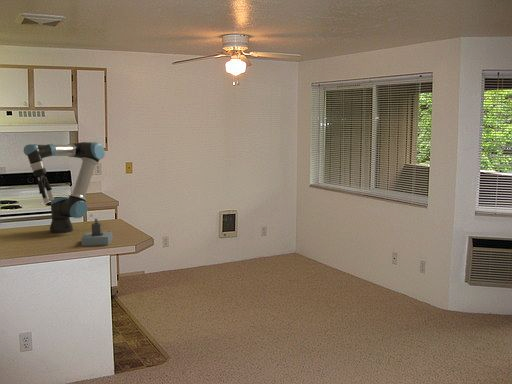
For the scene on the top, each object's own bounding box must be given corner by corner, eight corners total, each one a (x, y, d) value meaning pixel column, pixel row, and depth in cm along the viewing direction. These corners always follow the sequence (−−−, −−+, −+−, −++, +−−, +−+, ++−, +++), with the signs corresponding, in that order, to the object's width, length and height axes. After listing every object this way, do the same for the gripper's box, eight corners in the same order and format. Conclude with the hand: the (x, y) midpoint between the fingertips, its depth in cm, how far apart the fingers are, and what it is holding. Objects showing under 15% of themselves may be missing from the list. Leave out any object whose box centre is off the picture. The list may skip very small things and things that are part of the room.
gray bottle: (94, 241, 365) (93, 218, 363) (102, 241, 365) (101, 218, 363) (92, 243, 360) (91, 219, 358) (100, 243, 360) (99, 219, 358)
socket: (87, 239, 370) (86, 232, 369) (112, 239, 371) (112, 231, 370) (81, 245, 354) (81, 237, 353) (108, 245, 355) (107, 237, 354)
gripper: (37, 169, 373) (48, 200, 376) (27, 172, 348) (38, 205, 351) (49, 166, 374) (59, 197, 377) (39, 168, 349) (50, 202, 352)
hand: (49, 201), depth 364 cm, fingers open, 13 cm apart
